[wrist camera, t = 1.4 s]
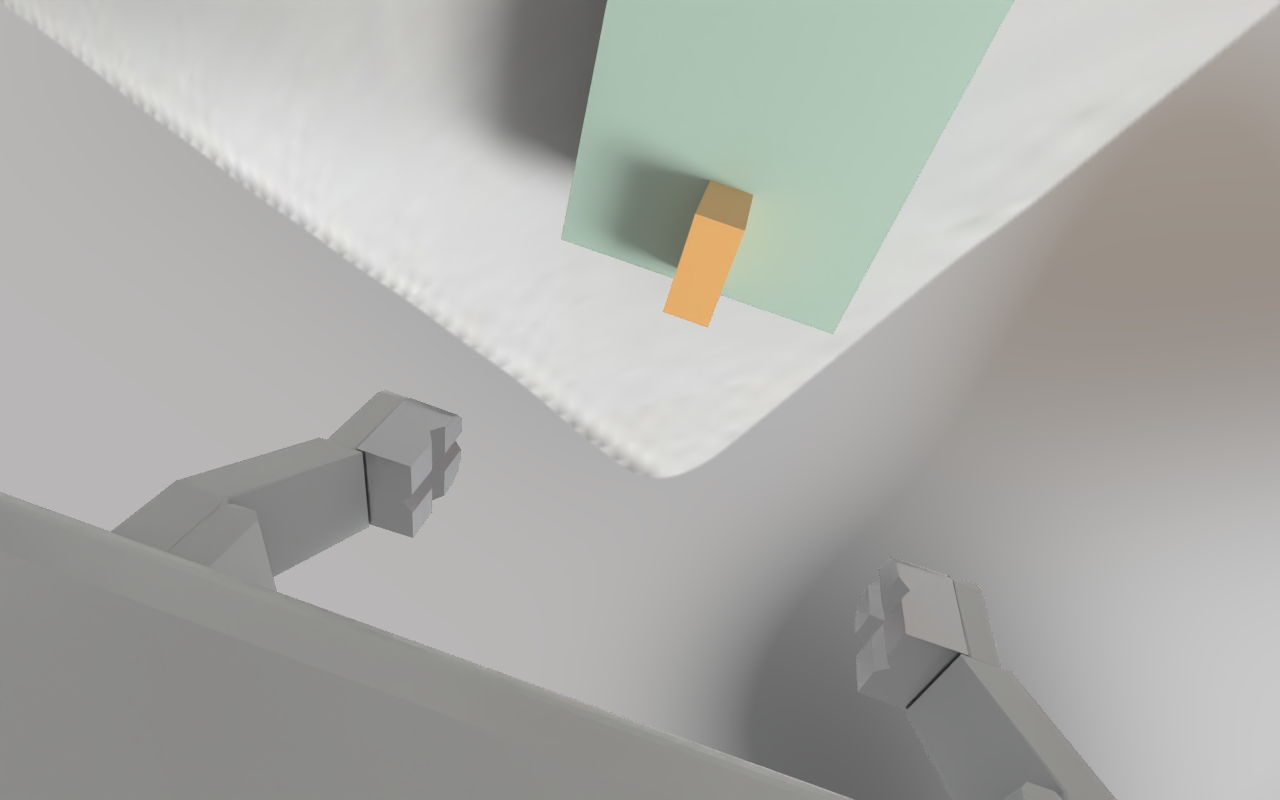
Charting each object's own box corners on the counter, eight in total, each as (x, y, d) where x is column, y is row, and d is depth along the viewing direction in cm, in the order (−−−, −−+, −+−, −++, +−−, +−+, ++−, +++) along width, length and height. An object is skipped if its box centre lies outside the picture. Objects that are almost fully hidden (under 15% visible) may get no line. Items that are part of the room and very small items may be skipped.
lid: (576, 222, 29) (528, 276, 24) (661, -196, 20) (613, -246, 15) (831, 311, 29) (836, 384, 24) (1033, -72, 20) (1107, -82, 15)
